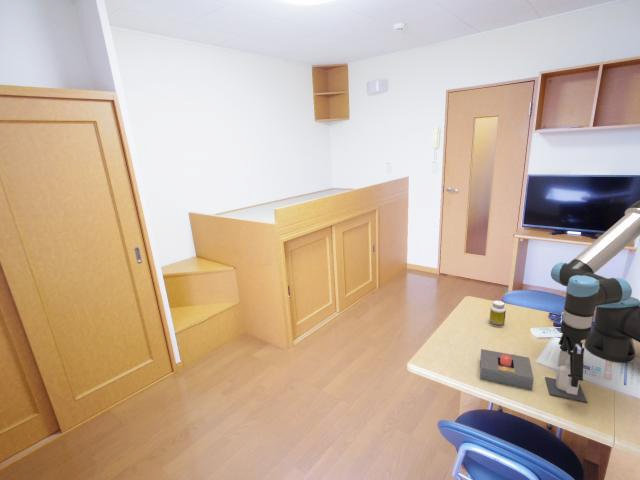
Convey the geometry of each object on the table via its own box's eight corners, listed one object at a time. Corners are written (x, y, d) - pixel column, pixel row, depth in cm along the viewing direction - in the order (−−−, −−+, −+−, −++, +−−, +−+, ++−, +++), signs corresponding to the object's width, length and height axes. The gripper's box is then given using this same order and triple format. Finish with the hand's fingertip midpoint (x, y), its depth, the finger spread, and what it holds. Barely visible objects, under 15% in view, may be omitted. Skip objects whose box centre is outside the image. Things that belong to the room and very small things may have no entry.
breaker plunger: (509, 370, 123) (511, 355, 121) (510, 376, 120) (512, 361, 118) (498, 368, 125) (500, 353, 123) (499, 374, 122) (500, 358, 120)
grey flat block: (527, 369, 124) (529, 357, 123) (532, 390, 114) (533, 377, 113) (480, 360, 131) (481, 348, 130) (480, 379, 121) (481, 367, 119)
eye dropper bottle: (573, 396, 110) (578, 365, 106) (553, 387, 114) (558, 357, 111) (577, 389, 112) (583, 359, 109) (558, 381, 117) (563, 351, 113)
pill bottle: (505, 328, 151) (507, 306, 148) (490, 327, 153) (492, 305, 150) (502, 321, 157) (504, 300, 154) (488, 320, 159) (490, 299, 156)
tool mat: (579, 385, 115) (579, 383, 115) (586, 403, 107) (587, 401, 107) (545, 378, 119) (545, 376, 119) (549, 395, 112) (549, 393, 111)
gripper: (554, 304, 119) (546, 355, 125) (571, 342, 97) (561, 402, 103) (580, 307, 116) (571, 360, 122) (603, 347, 94) (591, 409, 100)
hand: (566, 379), depth 112 cm, fingers open, 13 cm apart
